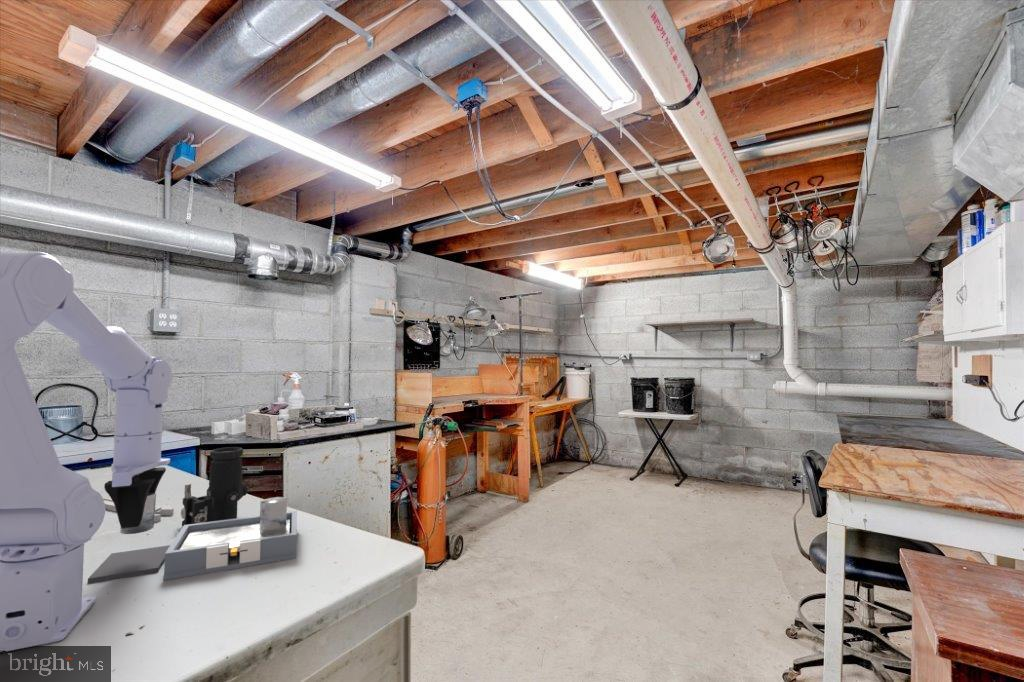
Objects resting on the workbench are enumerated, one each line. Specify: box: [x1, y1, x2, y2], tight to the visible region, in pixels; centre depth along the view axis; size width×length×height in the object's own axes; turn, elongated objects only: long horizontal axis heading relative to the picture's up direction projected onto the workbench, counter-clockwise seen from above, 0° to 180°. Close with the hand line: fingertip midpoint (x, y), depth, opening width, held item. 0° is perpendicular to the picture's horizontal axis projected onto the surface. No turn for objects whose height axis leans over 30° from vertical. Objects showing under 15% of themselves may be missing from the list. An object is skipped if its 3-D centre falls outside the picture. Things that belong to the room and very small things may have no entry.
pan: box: [180, 519, 290, 556], centre depth 73 cm, size 12×15×1 cm
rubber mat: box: [87, 544, 171, 584], centre depth 69 cm, size 9×8×1 cm
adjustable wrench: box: [102, 496, 174, 523], centre depth 94 cm, size 25×6×2 cm, turn 63°
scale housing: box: [162, 510, 298, 581], centre depth 74 cm, size 13×17×4 cm
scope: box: [180, 446, 249, 528], centre depth 87 cm, size 8×14×10 cm
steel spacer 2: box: [259, 496, 288, 535], centre depth 76 cm, size 4×4×5 cm
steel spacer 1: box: [119, 492, 157, 535], centre depth 70 cm, size 4×4×5 cm
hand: (135, 521), depth 70 cm, fingers closed on steel spacer 1, 4 cm apart
